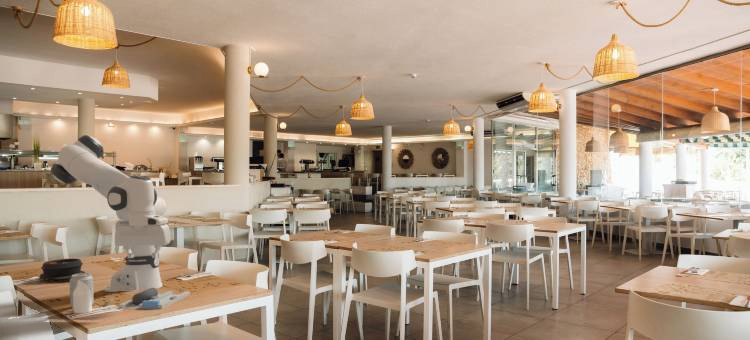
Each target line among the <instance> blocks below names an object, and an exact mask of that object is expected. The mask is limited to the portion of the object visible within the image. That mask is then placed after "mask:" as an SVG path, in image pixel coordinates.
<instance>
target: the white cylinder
mask: <svg viewBox="0 0 750 340" xmlns="http://www.w3.org/2000/svg"><path fill="white" fill-rule="evenodd" d="M72 309H73V313H74V314H83V313H85V314H86V313H90V312H92V311H93V304H92V297H91V290H90V289H89V287H88V286H87V285H86V284H85V283H83V282H82V281H80V280H78V283H77V286H76V289H75V290H74V292H73V308H72Z"/></svg>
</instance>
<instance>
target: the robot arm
mask: <svg viewBox="0 0 750 340" xmlns="http://www.w3.org/2000/svg"><path fill="white" fill-rule="evenodd" d="M104 153H105V151H104V147H103V146H102V143H101V141H99V140H98V139H97V138H95V137H94V136H91V135H88V134H87V135H86V134H84V135H81V136H79V138H78V139H77V140H76V141H75V142H74V143H72V144H68V145H67V144H66V145H65V146H63V147H61V149H60V151H59V152H58V155H57V160H56V162H54V163H53V165H52V166H51V168H50V173H51V175H52V176H53V178H54V179H55V180H56V181H57V182H59V183H61V184H66V185H72V184H74V183H75V182H76V181H79V182H81V183H83V184H85V185H86V184H88V185H90V186H91V187H92V188H93V189H94V190H95V191H96V192H97V193H99V194H100V195H101V196H103V197H104V198H105V199H107V200H106V201H107V204H108V206H109V207H110V209H112V210H113V211H115V214H116V216H117V218H118V222H116V223H115V233H114V234H115V235H114V244H115V245H116V247H124V250H125V252H126V254H127V256H126V257H123V262H125V264H124V265H123V266H122V267H120V269H118V270H117V271H116V272H115V273H113V275H111V278H110V285H108V286H107V287H105V288H104V292H106V293H108V292H109V293H116V292H119V291H124V292H126V291H127V292H135V291H141V290H147V289H150V288H155V289H160V288H162V287H164V285H163V283H162V278H161V274H160V254H159V252H160V251H161V248H162V246H167V245H169V244H170V243H171V231H170V227H169V225H168V223H169V218H167V217H165V216H164V214H165V213H166V210H167V202H166V200H164V198H163V197H161V196H160V195H158V194H157V190H156V189H155V188H154V187H155V186H154V184H153V183H154V182H153V180H152V178H151V177H149V176H145V175H129V174H128V173H126V172H124V171H122V170H121V169H118V168H117V167H115V166H112V165H111V164H109V163H107V162H106V161H104V159H105V157H104ZM100 158H101V159H100Z"/></svg>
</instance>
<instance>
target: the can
mask: <svg viewBox="0 0 750 340" xmlns="http://www.w3.org/2000/svg"><path fill="white" fill-rule="evenodd" d="M78 280H80V281H82V282H83V283H85V284H86V285H87V286H88V287H89V289H90V290H91V297H92V305H93V304H94V301H95V300H94V299H95V298H94V296H95V295H94V276H92V273H90V272H85V273H80V274H74V275H72V278H71V279H69V301H70V302H69V304H70V305H69V307H70V308H72V309H73V292H74V290H75V289H76V286H77V283H78Z"/></svg>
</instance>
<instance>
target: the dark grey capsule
mask: <svg viewBox="0 0 750 340" xmlns="http://www.w3.org/2000/svg"><path fill="white" fill-rule="evenodd" d="M158 294H159V291H158V289H157V288H149V289H144V290H143V291H141V292H138V293H136V294H134V295H133V296H132V297H131V298H132V299H131V300H132V302H133V303H134V304H135V305H139V304H141V303H142V301H148V300H150V299H151V297H153V296H157V295H158Z"/></svg>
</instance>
